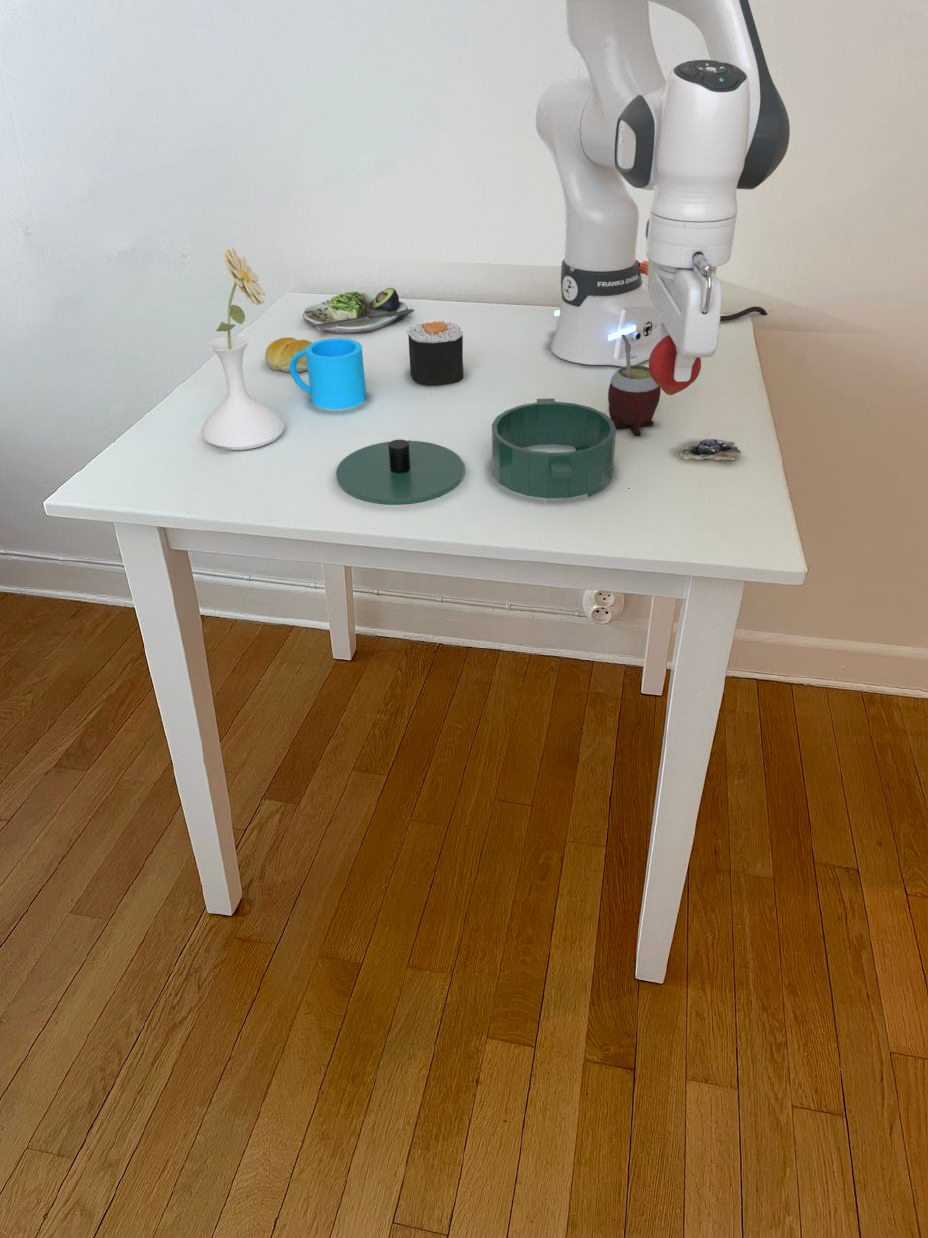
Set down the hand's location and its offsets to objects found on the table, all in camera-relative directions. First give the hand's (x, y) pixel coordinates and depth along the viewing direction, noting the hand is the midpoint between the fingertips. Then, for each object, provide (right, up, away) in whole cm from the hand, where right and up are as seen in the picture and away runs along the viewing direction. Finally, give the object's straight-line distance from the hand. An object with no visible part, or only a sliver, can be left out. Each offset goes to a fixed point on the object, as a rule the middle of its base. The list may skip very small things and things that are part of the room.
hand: (674, 366), depth 108 cm
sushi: (-28, +9, +41) cm, 51 cm away
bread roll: (-52, +13, +46) cm, 70 cm away
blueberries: (+8, -7, +18) cm, 21 cm away
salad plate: (-43, +25, +63) cm, 81 cm away
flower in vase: (-54, -3, +25) cm, 60 cm away
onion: (0, -3, +2) cm, 4 cm away
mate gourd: (-1, -2, +24) cm, 25 cm away
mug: (-44, +4, +34) cm, 56 cm away
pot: (-13, -10, +14) cm, 22 cm away
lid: (-32, -10, +14) cm, 36 cm away
